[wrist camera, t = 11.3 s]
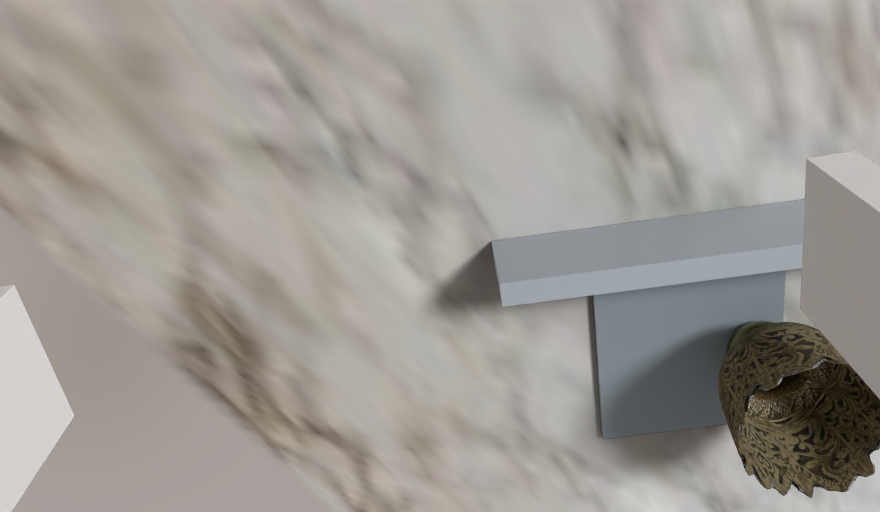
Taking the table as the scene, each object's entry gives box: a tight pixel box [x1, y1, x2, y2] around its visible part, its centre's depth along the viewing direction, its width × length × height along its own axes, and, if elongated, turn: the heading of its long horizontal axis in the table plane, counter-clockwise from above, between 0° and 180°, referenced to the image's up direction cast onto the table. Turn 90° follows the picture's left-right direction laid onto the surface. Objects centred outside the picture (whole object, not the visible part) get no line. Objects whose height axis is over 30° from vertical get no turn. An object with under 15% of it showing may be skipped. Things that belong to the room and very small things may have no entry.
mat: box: [593, 270, 785, 439], centre depth 43 cm, size 10×10×1 cm
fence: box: [491, 199, 805, 307], centre depth 40 cm, size 13×23×5 cm, turn 98°
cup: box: [718, 321, 880, 498], centre depth 39 cm, size 8×7×8 cm
